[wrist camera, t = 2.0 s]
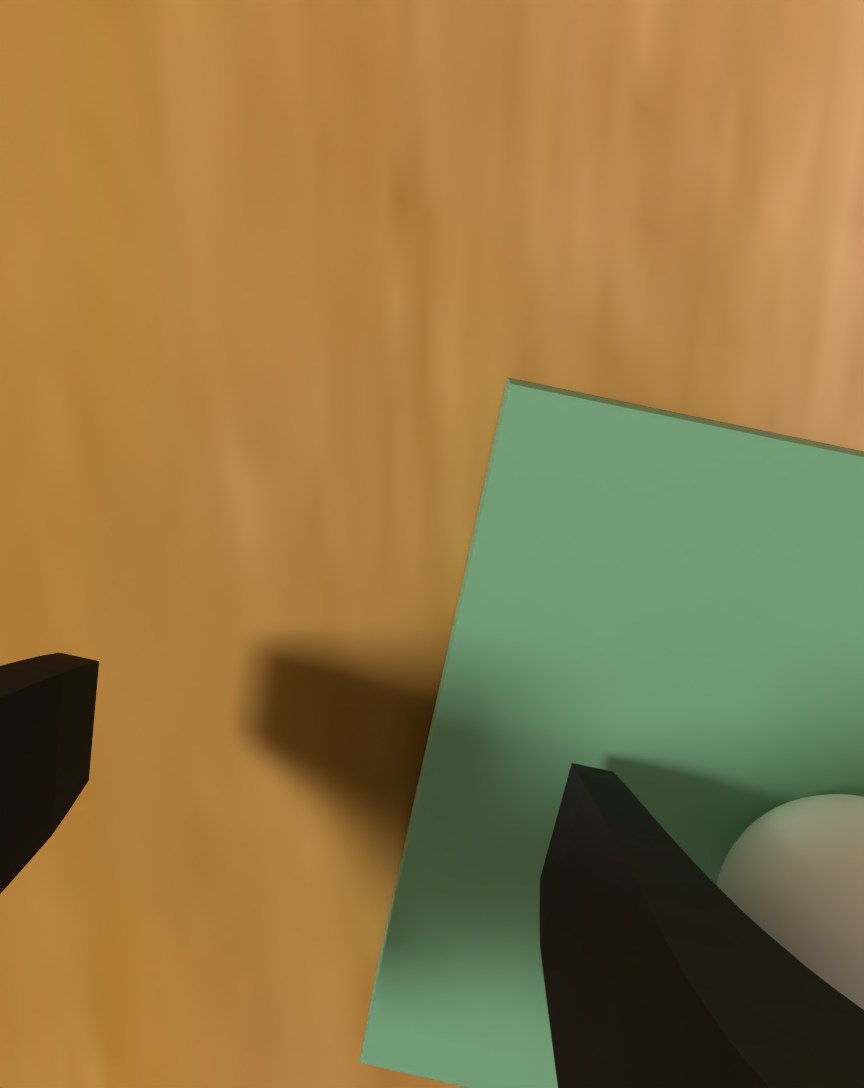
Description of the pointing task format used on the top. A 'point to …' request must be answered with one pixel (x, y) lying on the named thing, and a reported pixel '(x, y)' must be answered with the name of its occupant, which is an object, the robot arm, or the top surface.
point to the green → (614, 691)
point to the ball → (807, 884)
